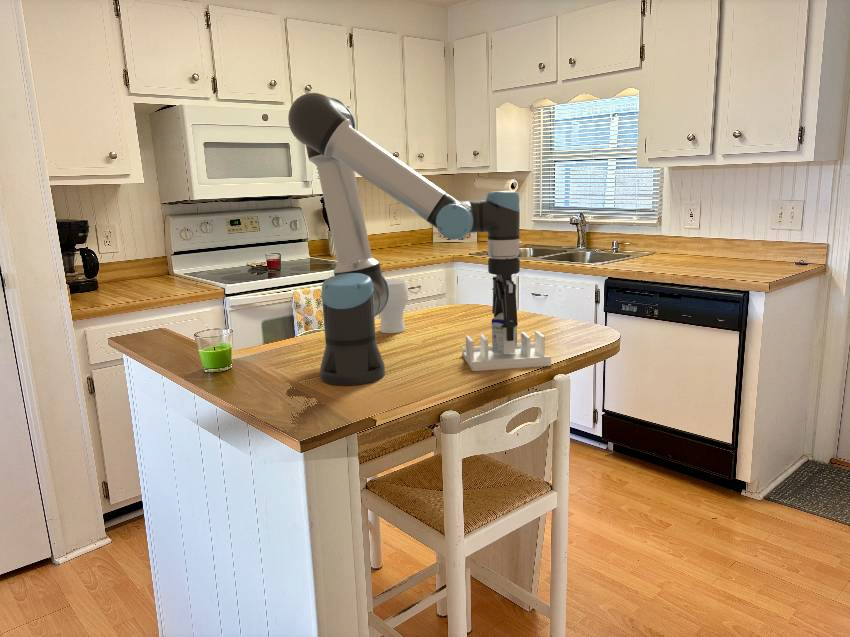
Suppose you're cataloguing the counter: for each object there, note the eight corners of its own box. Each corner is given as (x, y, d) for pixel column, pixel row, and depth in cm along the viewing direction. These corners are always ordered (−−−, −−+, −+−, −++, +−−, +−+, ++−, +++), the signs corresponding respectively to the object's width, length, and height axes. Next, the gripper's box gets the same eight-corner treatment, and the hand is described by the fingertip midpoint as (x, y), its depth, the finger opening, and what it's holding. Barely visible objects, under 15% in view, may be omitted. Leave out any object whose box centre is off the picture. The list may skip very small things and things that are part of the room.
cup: (416, 328, 194) (414, 279, 191) (396, 336, 186) (394, 285, 182) (388, 325, 200) (386, 278, 197) (367, 332, 191) (364, 283, 188)
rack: (472, 371, 150) (471, 345, 148) (462, 355, 163) (461, 331, 162) (550, 365, 152) (551, 340, 150) (534, 350, 165) (534, 327, 164)
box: (499, 345, 161) (499, 311, 160) (517, 346, 160) (517, 312, 158) (491, 353, 154) (491, 318, 152) (509, 354, 153) (509, 319, 151)
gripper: (531, 261, 142) (531, 359, 147) (508, 251, 163) (509, 336, 168) (498, 263, 141) (499, 361, 146) (479, 252, 162) (481, 338, 167)
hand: (504, 348), depth 157 cm, fingers closed on box, 9 cm apart
